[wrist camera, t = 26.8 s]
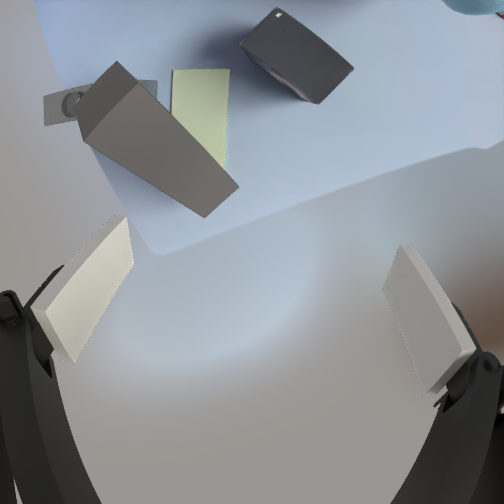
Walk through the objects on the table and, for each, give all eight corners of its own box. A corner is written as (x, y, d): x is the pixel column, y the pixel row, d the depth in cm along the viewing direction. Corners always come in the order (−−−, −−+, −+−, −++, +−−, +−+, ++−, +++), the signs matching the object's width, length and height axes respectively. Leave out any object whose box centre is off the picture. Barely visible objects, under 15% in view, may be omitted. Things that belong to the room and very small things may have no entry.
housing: (95, 89, 32) (39, 97, 21) (157, 80, 32) (109, 79, 21) (95, 112, 35) (40, 127, 23) (156, 106, 34) (109, 116, 23)
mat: (174, 70, 31) (173, 69, 31) (230, 69, 31) (230, 68, 31) (172, 185, 41) (171, 186, 41) (223, 188, 41) (222, 189, 41)
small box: (244, 57, 30) (235, 44, 22) (275, 26, 28) (276, 3, 19) (305, 104, 34) (317, 107, 25) (335, 73, 31) (357, 66, 22)
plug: (74, 105, 20) (83, 141, 17) (116, 60, 19) (138, 83, 16) (183, 185, 40) (209, 221, 37) (213, 157, 39) (243, 191, 36)
